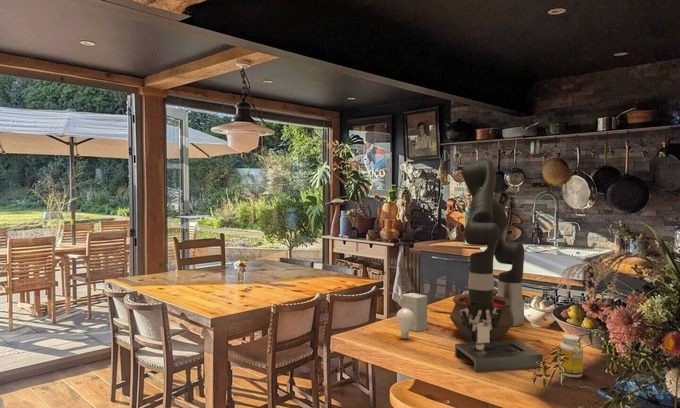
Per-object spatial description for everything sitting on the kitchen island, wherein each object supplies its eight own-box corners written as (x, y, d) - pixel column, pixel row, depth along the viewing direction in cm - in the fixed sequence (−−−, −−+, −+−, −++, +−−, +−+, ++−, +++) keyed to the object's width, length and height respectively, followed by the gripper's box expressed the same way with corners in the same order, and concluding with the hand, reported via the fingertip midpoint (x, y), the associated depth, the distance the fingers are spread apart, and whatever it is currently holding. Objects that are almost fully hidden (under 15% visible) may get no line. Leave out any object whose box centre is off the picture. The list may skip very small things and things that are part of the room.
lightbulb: (415, 337, 170) (416, 307, 170) (410, 342, 164) (411, 311, 164) (399, 335, 173) (399, 305, 173) (393, 339, 167) (394, 309, 167)
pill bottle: (554, 370, 140) (555, 333, 139) (574, 369, 140) (575, 333, 140) (566, 378, 133) (567, 340, 133) (587, 377, 134) (587, 339, 134)
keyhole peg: (483, 358, 148) (483, 322, 148) (491, 363, 143) (492, 326, 143) (468, 359, 147) (469, 323, 147) (476, 364, 142) (476, 327, 142)
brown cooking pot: (498, 351, 155) (499, 303, 155) (435, 336, 172) (436, 292, 171) (526, 336, 173) (527, 292, 173) (466, 323, 189) (467, 283, 189)
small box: (427, 329, 181) (427, 295, 181) (416, 332, 177) (416, 298, 177) (411, 324, 187) (412, 292, 187) (400, 327, 183) (401, 294, 183)
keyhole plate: (516, 352, 155) (516, 339, 155) (542, 367, 142) (542, 353, 142) (454, 356, 151) (455, 343, 151) (475, 372, 137) (475, 358, 137)
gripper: (495, 283, 150) (494, 336, 150) (454, 285, 147) (453, 339, 147) (508, 288, 142) (507, 344, 143) (465, 290, 140) (464, 347, 140)
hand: (480, 341), depth 145 cm, fingers closed on keyhole peg, 4 cm apart
